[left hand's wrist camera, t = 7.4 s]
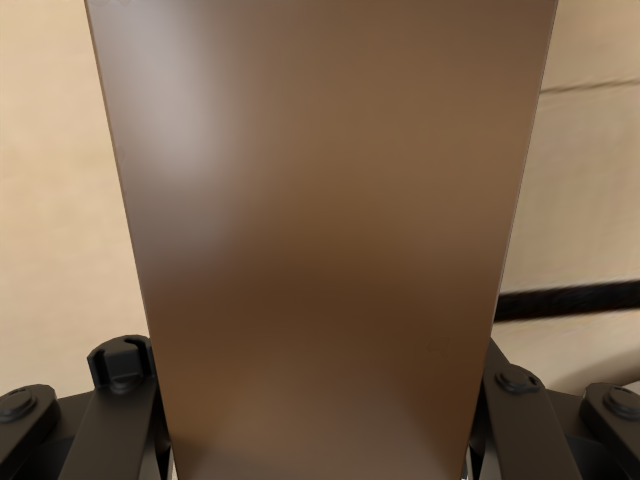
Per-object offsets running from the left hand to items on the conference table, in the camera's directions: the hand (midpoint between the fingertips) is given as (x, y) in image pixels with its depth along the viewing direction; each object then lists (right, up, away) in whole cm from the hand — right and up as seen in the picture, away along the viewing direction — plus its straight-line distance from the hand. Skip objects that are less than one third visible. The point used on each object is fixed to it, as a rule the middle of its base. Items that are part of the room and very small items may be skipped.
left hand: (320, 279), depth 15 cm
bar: (0, +7, -2) cm, 7 cm away
